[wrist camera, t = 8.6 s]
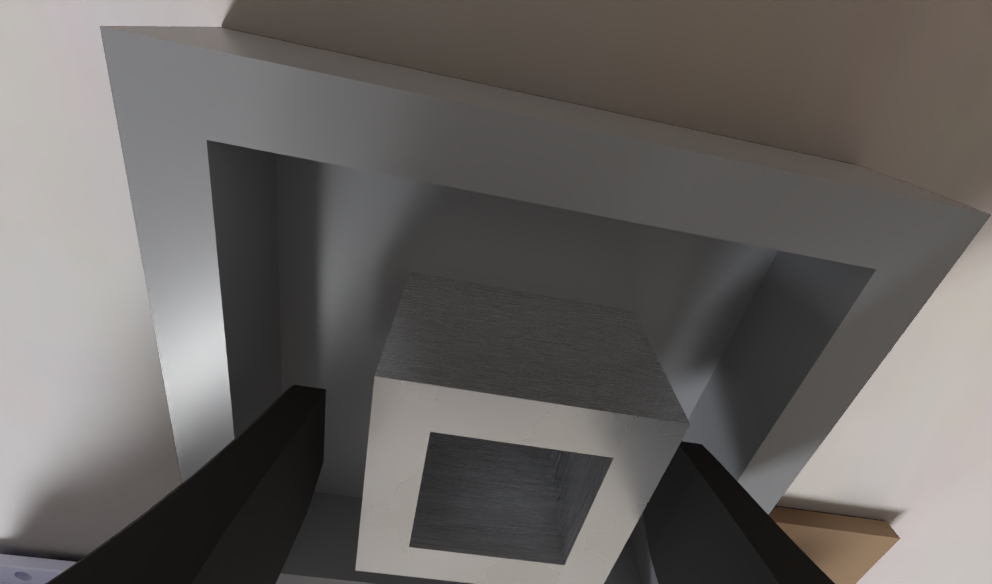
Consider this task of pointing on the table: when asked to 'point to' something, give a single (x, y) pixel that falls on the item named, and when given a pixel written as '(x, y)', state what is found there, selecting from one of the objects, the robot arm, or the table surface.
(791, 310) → the tray
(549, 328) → the collar
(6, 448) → the table surface
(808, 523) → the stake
